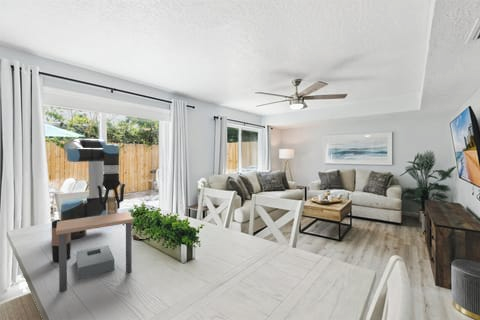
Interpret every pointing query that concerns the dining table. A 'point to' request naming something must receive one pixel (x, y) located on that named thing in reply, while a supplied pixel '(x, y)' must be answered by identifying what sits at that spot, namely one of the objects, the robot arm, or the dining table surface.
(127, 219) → the wooden side table
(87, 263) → the socket board
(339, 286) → the dining table surface
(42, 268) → the dining table surface
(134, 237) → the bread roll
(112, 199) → the oak peg
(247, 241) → the dining table surface
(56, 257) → the travel mug
